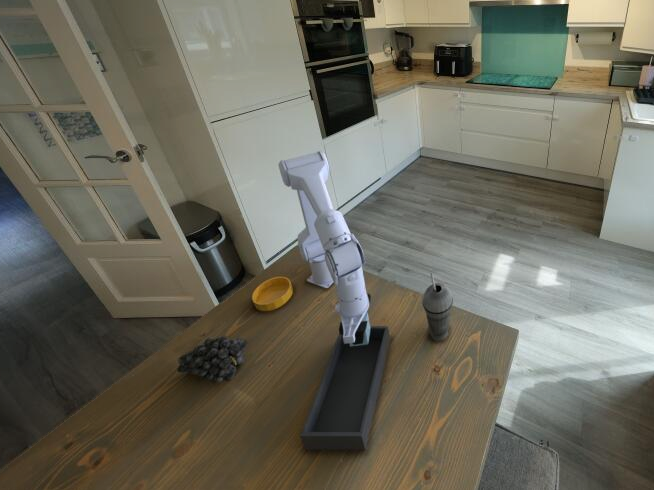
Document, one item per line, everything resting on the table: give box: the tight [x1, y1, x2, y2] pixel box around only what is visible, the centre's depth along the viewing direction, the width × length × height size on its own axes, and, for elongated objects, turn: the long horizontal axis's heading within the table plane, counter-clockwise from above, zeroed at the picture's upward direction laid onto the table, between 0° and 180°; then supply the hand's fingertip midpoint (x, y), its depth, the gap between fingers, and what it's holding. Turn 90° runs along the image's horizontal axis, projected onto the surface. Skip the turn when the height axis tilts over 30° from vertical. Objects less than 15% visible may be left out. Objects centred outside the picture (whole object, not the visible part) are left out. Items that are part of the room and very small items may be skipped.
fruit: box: [176, 335, 248, 385], centre depth 69 cm, size 9×8×15 cm
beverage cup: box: [421, 272, 454, 342], centre depth 75 cm, size 7×7×20 cm
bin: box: [299, 325, 391, 451], centre depth 66 cm, size 21×11×5 cm, turn 0°
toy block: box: [349, 311, 371, 347], centre depth 71 cm, size 4×4×6 cm
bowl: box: [251, 276, 294, 312], centre depth 87 cm, size 9×9×3 cm
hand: (360, 333), depth 71 cm, fingers closed on toy block, 4 cm apart
